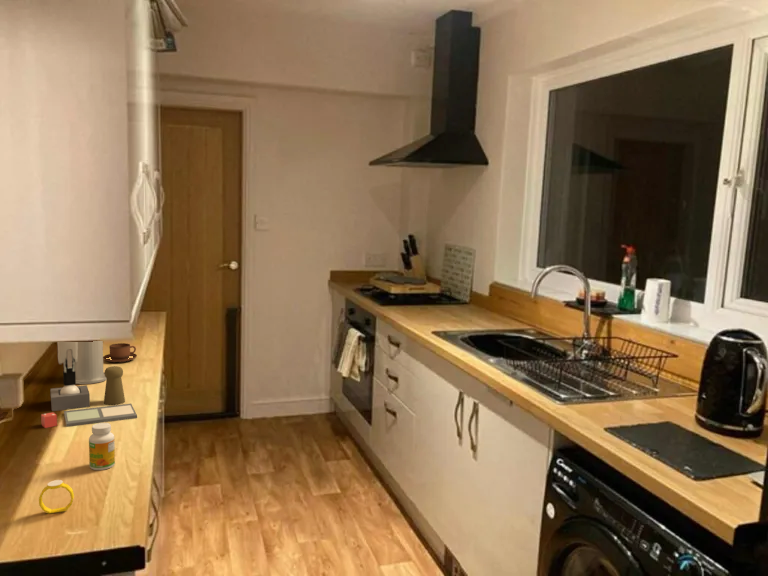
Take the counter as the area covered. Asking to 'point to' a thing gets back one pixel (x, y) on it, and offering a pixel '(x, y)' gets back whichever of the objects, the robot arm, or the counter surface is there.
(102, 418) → the game board
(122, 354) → the cup and saucer
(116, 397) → the brown pepper mill
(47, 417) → the red die
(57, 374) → the counter surface
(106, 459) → the supplement bottle
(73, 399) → the gray square holder
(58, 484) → the watch
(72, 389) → the cream white ball
